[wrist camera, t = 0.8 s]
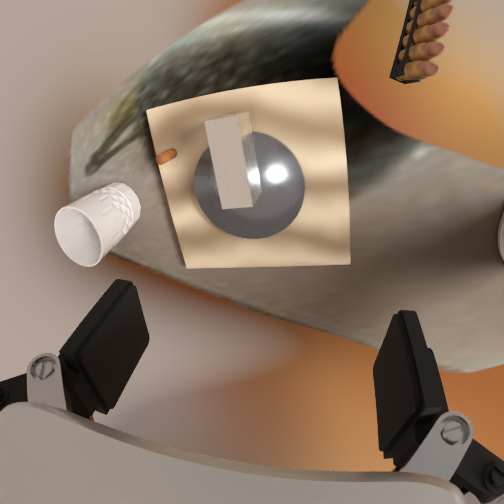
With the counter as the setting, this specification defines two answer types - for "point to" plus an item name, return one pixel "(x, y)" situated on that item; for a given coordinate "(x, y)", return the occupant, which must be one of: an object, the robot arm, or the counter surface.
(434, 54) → the ammunition clip
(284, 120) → the dial panel
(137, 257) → the counter surface
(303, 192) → the dial
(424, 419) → the robot arm
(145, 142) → the counter surface
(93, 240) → the white cup
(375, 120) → the counter surface
